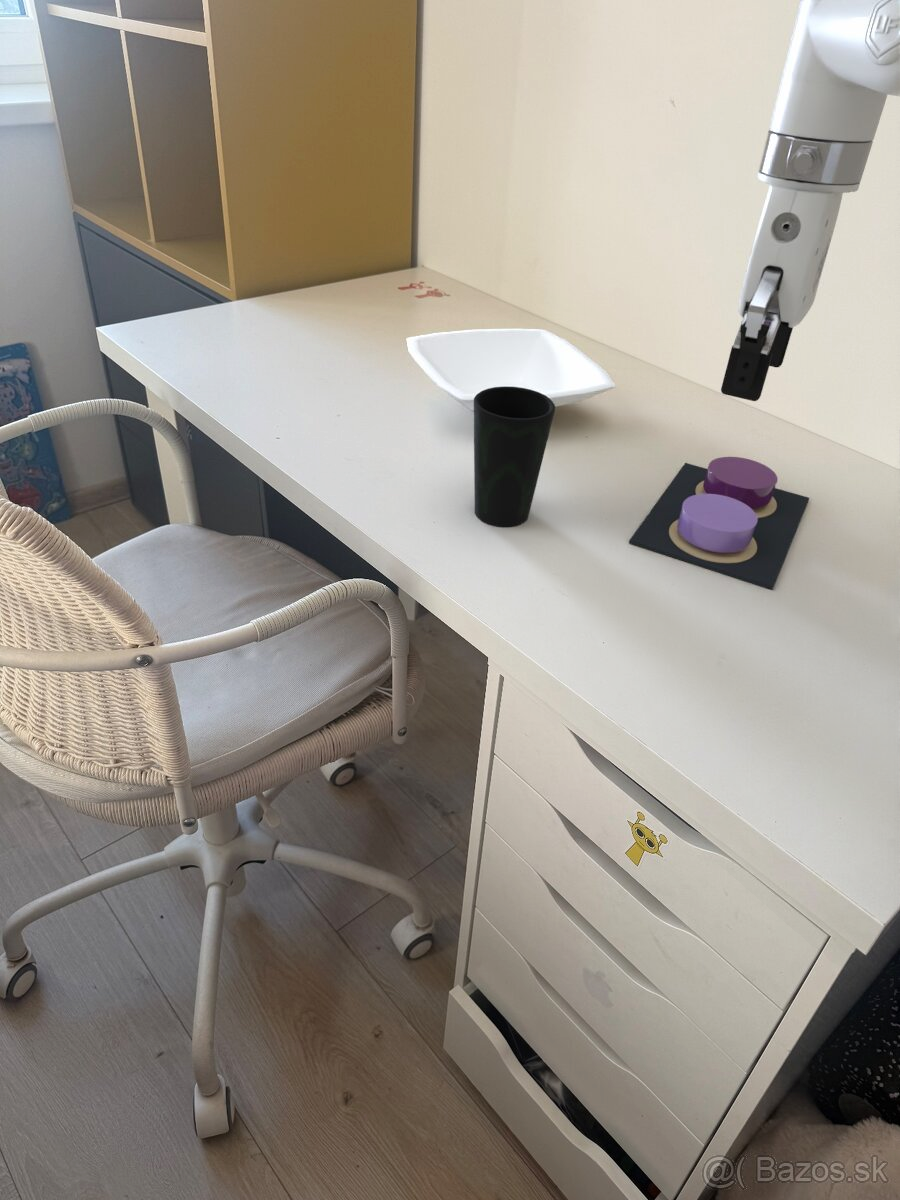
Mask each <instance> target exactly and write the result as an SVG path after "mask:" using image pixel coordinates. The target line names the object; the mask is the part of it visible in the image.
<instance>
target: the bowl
mask: <svg viewBox="0 0 900 1200" xmlns="http://www.w3.org/2000/svg"><path fill="white" fill-rule="evenodd" d="M406 343H407V350H408V353H409V355H411V357H412V358H413V359H414V361H415V362H416V364H418V365H419V367H420V368H421V369H422V371H424V372H425V374H426V375H427V376H428V377H429V378H430V380H431V381H433V383H434V384H435V385H436V386H437V387H438V388H439V389H440V390H442V391H443V392H444V393H445V394H447V395H448V396H450V397H451V398H452V399H454V401H457V402H458V403H460V404H461V405H462V406H464V407H466V408H467V409H468V410H470V411H473V412H474V398H475V396H476V395H477V394H478V393H480V392H481V391H483V390H486V389H489V388H494V387H503V386H505V387H520V388H526V389H530V390H534V391H537V392H539V393H541V394H543V395H546V396H547V397H548V398H550V399H551V400H552V402H553V403H554V404H555V408H556V407H562V406H567V405H570V404H575V403H579V402H582V401H585V400H587V399H589V398H593V397H595V396H598V395H600V394H603V393H605V392H608V391H610V390H613V389H615V388H616V384H615V382H614V380H613V379H612V378H611V376H610V375H609V373H608V371H607V370H605V369H604V368H603V367H601V366H600V365H599V364H598V363H597V362H596V361H594V360H593V359H591V358H590V357H589V356H588V355H586V354H585V353H584V352H582V351H581V350H580V349H579V348H577V347H576V346H575V345H574V344H572V343H570V342H569V341H568V340H567V339H565V338H563V337H560V336H558V335H557V334H555V333H553V332H550V331H549V330H546V329H538V328H484V329H483V328H482V329H481V328H480V329H475V328H474V329H464V330H454V331H442V332H434V333H428V334H422V335H416V336H409V337H407V338H406Z"/></svg>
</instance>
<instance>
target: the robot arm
mask: <svg viewBox="0 0 900 1200" xmlns="http://www.w3.org/2000/svg"><path fill="white" fill-rule="evenodd" d="M888 96H894V97H900V0H800V1H799V5H798V10H797V13H796V18H795V21H794V25H793V30H792V34H791V38H790V41H789V45H788V50H787V54H786V58H785V62H784V67H783V70H782V74H781V78H780V83H779V86H778V90H777V95H776V99H775V102H774V107H773V110H772V115H771V119H770V122H769V123H770V124H769V127H768V130H767V135H766V139H765V141H764V147H763V151H762V155H761V159H760V163H759V167H758V171H757V176H756V180H758V181H759V182H762V183H764V184H768V185H769V186H768V189H767V193H766V197H765V200H764V203H763V206H762V211H761V212H760V218H759V222H758V225H757V228H756V232H755V236H754V240H753V243H752V248H751V251H750V255H749V259H748V263H747V267H746V270H745V275H744V279H743V283H742V288H741V293H740V296H739V301H738V307H737V312H738V314H739V316H740V317H741V318H742V320H741V323H740V324H739V328H738V331H737V333H736V336H735V340H734V342H733V345H731V349H730V354H729V357H728V361H727V365H726V368H725V372H724V375H723V381H722V383H721V388H720V392H721V393H722V394H723V395H726V396H729V397H734V398H738V399H742V400H747V401H751V402H757V401H759V400H760V398H761V396H762V393H763V389H764V387H765V383H766V379H767V375H768V372H769V368H770V367H773V368H780V367H782V364H783V363H784V360H785V356H786V353H787V350H788V346H789V343H790V339H791V336H792V333H793V329H794V328H795V327H796V326H798V325H799V324H801V322H802V321H803V320H804V319H805V317H806V316H807V314H808V313H809V311H810V310H811V308H812V306H813V305H814V303H815V300H816V295H817V292H818V288H819V285H820V281H821V277H822V272H823V269H824V267H825V263H826V259H827V257H828V252H829V249H830V245H831V243H832V238H833V235H834V231H835V228H836V225H837V221H838V216H839V212H840V208H841V203H842V200H843V195H844V194H847V193H855V192H857V191H858V190H859V188H860V185H861V182H862V179H863V175H864V172H865V169H866V167H867V162H868V159H869V156H870V152H871V149H872V147H873V144H874V139H875V137H876V133H877V131H878V127H879V124H880V120H881V117H882V114H883V111H884V107H885V104H886V102H887V98H888Z"/></svg>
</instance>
